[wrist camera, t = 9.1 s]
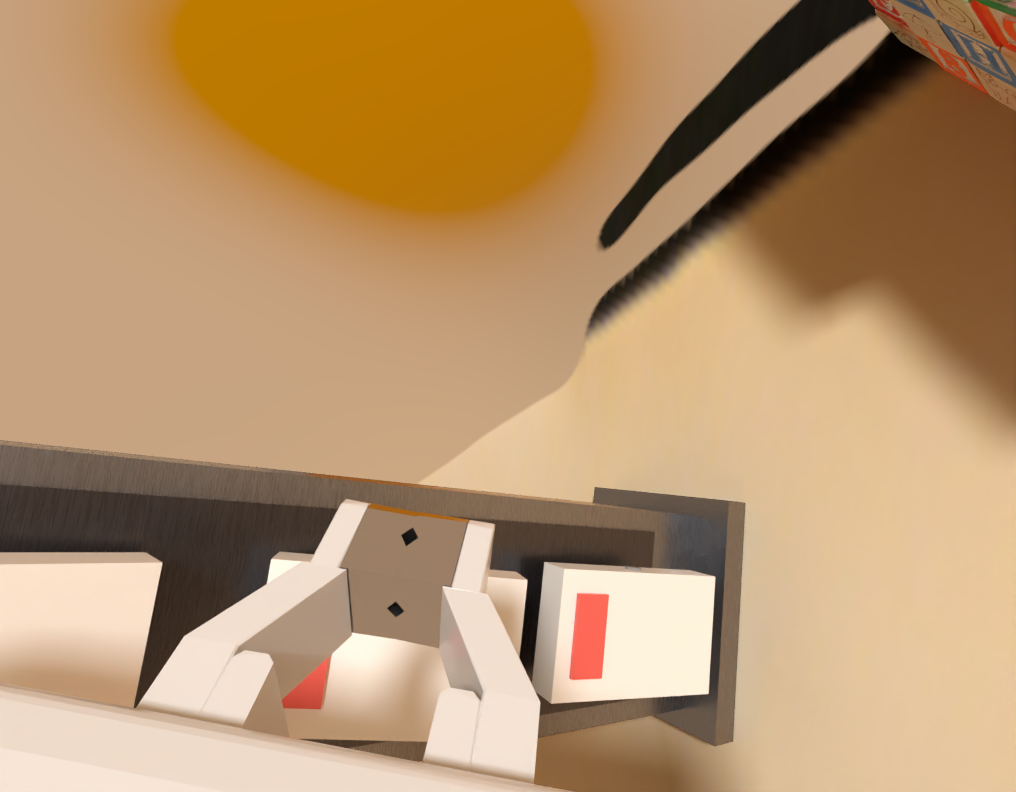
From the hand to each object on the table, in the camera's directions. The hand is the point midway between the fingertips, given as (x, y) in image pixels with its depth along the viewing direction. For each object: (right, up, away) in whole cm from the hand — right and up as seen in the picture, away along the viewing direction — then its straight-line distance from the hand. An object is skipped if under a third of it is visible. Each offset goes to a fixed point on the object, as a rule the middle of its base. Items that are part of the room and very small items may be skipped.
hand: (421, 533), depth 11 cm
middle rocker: (+2, -6, +8) cm, 10 cm away
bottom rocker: (+11, -8, +15) cm, 20 cm away
